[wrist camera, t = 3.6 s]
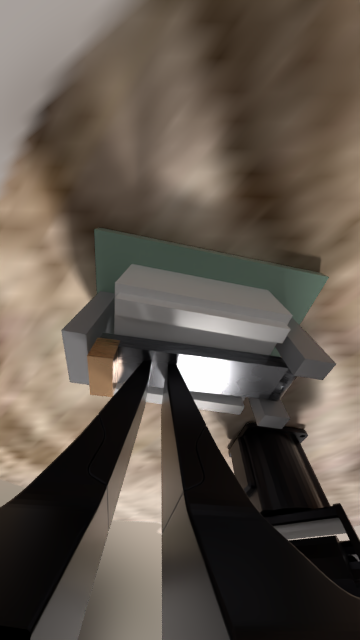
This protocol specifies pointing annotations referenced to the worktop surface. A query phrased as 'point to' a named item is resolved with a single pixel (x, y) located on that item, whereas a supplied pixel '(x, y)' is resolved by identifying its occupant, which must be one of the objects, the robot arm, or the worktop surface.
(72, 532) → the robot arm
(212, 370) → the grey and brown bar
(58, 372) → the worktop surface
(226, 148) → the worktop surface
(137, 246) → the heatsink board
